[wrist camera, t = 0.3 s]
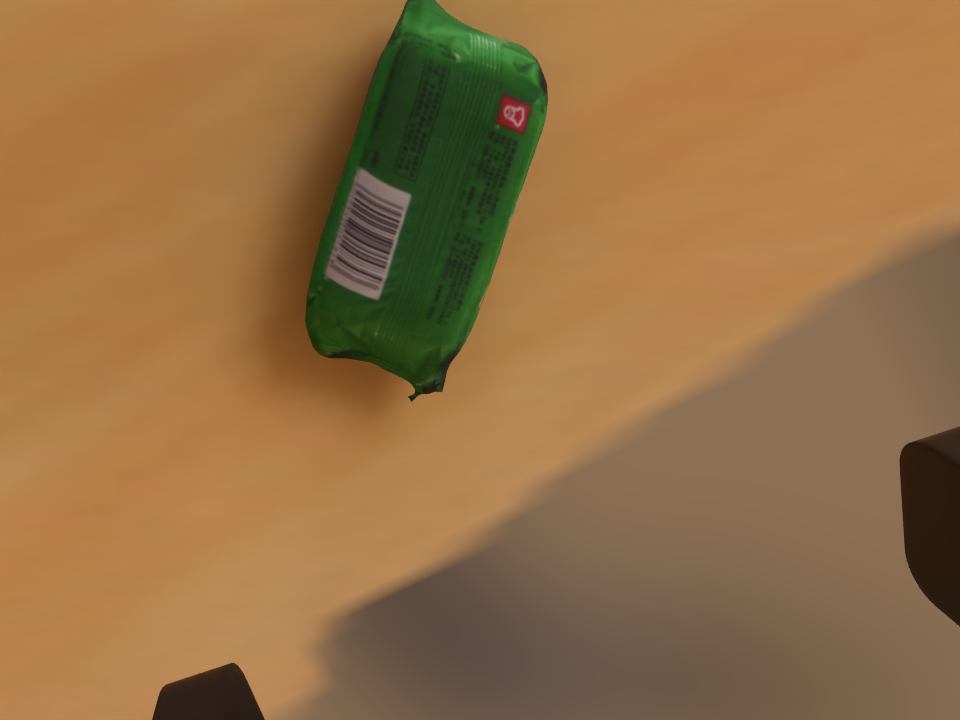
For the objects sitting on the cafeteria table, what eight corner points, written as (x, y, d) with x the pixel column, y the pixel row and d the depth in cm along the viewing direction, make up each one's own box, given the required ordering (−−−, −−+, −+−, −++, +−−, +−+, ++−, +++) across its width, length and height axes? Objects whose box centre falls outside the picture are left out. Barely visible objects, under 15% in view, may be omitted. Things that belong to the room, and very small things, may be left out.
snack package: (285, 337, 37) (279, 376, 32) (393, -13, 33) (406, -29, 28) (431, 378, 39) (447, 421, 34) (549, 53, 35) (586, 49, 30)
